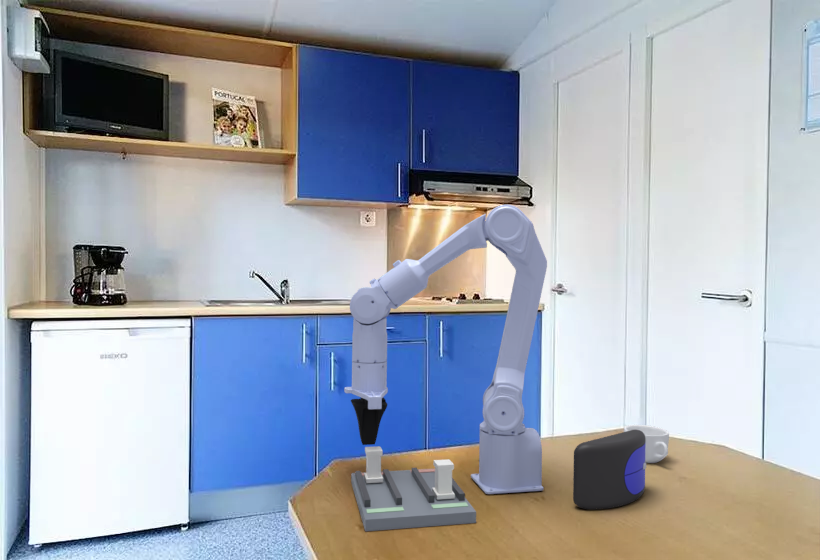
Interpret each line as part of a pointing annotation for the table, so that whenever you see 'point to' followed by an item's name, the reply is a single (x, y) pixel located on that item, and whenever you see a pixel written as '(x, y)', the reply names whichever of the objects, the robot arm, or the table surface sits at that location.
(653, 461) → the teacup
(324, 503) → the table surface
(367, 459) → the breaker
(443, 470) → the breaker
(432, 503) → the panel
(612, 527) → the table surface
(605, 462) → the leaning round-cornered charcoal block
